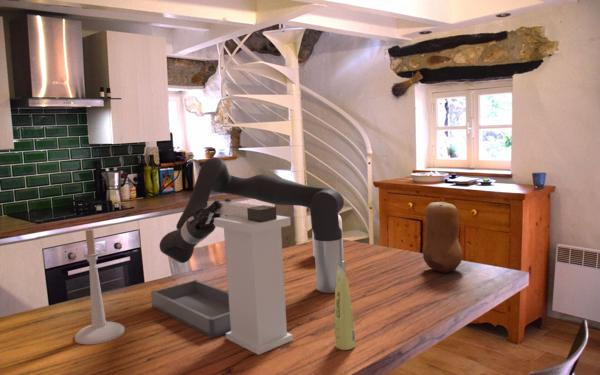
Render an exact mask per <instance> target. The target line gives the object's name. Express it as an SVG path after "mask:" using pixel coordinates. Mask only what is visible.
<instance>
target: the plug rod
mask: <svg viewBox="0 0 600 375" xmlns="http://www.w3.org/2000/svg"><path fill="white" fill-rule="evenodd" d="M215 200H216V199H213V200H208V201H207V202H208V205H207V206H210V205H211V204H212V203H213V202H214V201H215ZM218 200H219V203H220V208H219V209H218V210H217V211H216V212H215V213H217V214H222V215H228V216H234V217H239V218H245V219H248V220H249V221H255V222H265V221H270V220H275V219H277V216H276V215H277V207H276V206H271V205H263V204H262V205H257V204H249V203H244V202H242V203H241V202H236V201H235V202H234V201H231V202H228V201H225V200H222V199H221V200H220V199H218Z"/></svg>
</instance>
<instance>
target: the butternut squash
mask: <svg viewBox="0 0 600 375" xmlns="http://www.w3.org/2000/svg"><path fill="white" fill-rule="evenodd" d="M425 221H426V222H425V223H426V224H425V239H424V243H423V246H422V257H423V260H424V262H425V264H426V265H427V267H428V268H430V269H432V270H435V271H437V272H438V273H443V274H447V273H449V272H453V271H455V270H456V269H457V268H458V267H460V264H461V262H462V261H463V250H462V247H461V244H460V241H459V239H458V233H459V226H460V223H459V222H460V221H459V212H458V208H457V207H456V206H455V205H454V204H452V203H448V202H444V201H437V202H430V203H429V204H428V205H427V206H426V210H425Z"/></svg>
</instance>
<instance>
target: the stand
mask: <svg viewBox="0 0 600 375" xmlns="http://www.w3.org/2000/svg"><path fill="white" fill-rule="evenodd" d="M276 216H277V219H275V220H270V221H265V222H255V221H249V220H248V219H245V218H239V217H234V216H224V217H218V218H214V226H216V228H222V229H223V237H224V251H225V263H226V265H225V266H226V277H227V278H226V279H227V280H226V281H227V292H228V295H229V309H230V324H231V331H230V332H227V333H225V339H226V340H228V341H230V342H233V343H234V344H236V345H238V346H240V347H242V348H244V349H246V350H248V351H250V352H252V353H254V354H256V355H258V356H260V355H261V354H263V353H267V352H268V351H271V350H273V349H276V348H278V347H280V346H283V345H285V344H287V343H290V342H292V341H293V340H294V337H293V334H292V333H290V332H288V331H287V327H288V326H287V313H286V312H287V311H286V297H285V296H286V294H285V277H284V276H285V273H284V261H283V260H284V259H283V240H282V238H283V237H282V228H284V227H288V226H289V227H290V226H291V224H292V222H291V216H285V215H277V214H276Z"/></svg>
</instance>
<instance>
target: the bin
mask: <svg viewBox="0 0 600 375" xmlns="http://www.w3.org/2000/svg"><path fill="white" fill-rule="evenodd" d="M150 294H151V295H150V296H151V305H152V306H151V307H152V308H153V309H155V310H157V311H159V312H161V313H163V314H165V315H166V316H169V317H170V318H173V320H176V321H179V322H180V323H182V324H183V325H186V326H187V327H190V329H191V328H192V329H193V330H195V331H197V332H199V333H201V334H203V335H205V336H206V337H208V338H210V339H214V338H216V337H220V336H222V335H226V333H227V332H230V331H231V324H230V309H229V295H228V290H224V289H221V288H219V287H216V286H214V285H211V284H208V283H206V282H203V281H201V280H198V279H193V280H189V281H185V282H182V283H179V284H174V285H170V286H168V287H167V286H166V287H164V288H161V289H160V288H159V289H156V290H152V291H150Z"/></svg>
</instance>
